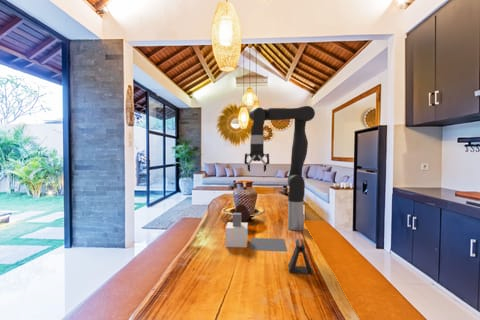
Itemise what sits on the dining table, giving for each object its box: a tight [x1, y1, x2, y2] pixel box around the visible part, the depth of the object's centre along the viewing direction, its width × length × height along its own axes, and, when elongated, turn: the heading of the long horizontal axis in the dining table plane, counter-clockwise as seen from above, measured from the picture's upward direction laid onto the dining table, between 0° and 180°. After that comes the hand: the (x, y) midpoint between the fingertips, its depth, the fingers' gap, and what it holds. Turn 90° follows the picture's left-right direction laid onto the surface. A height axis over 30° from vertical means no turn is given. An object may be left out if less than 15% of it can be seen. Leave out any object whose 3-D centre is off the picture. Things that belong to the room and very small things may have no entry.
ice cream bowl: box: [233, 203, 252, 223], centre depth 169 cm, size 11×11×15 cm
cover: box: [225, 213, 249, 249], centre depth 139 cm, size 11×11×16 cm
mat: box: [249, 237, 288, 252], centre depth 138 cm, size 18×18×1 cm
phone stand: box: [288, 238, 313, 275], centre depth 109 cm, size 9×6×12 cm, turn 82°
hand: (256, 171), depth 155 cm, fingers open, 8 cm apart
